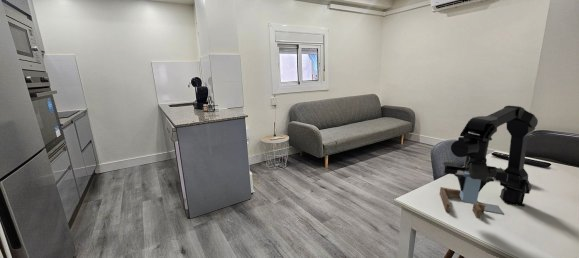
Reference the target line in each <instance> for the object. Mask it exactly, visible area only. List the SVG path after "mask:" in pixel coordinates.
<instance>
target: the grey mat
mask: <svg viewBox="0 0 579 258" xmlns="http://www.w3.org/2000/svg"><path fill="white" fill-rule="evenodd" d="M478 203H479V204H484V205H485V209H484V212H489V213H494V214H498V215H499V214H500V215H505V213H504V211H503V210H502V209H501V207H500V206H499V205H497V204H492V203H485V202H478Z"/></svg>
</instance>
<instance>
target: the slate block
mask: <svg viewBox="0 0 579 258" xmlns="http://www.w3.org/2000/svg"><path fill="white" fill-rule="evenodd" d="M463 175H464V176H465V178H464V185H463V191H461V189H459V190H460V197H461V199H460V200H461V201H462V202H466V203H471V204H472V203H478V198H479V194H480V192H479V189H480V184H481V180H479V179H472V178H471V177H470V174H469V173H467V172H464V173H463Z"/></svg>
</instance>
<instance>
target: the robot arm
mask: <svg viewBox="0 0 579 258" xmlns="http://www.w3.org/2000/svg"><path fill="white" fill-rule="evenodd" d="M538 123H539V120H538V118H537V116H535V114H533V113H532V112H530V111H527V110H526V108H524V107H522V106H519V105H517V106H516V105H509V104H508V105H505V106H504V107H503V108H501V109H499V110H497V111H495V112H493V113H490V114H488V115H486V116H484V115H481V116H479V115H478V116H474V117H472V118H470V119H469V120H468V121H467V123H466V124H465V126H464V127H463V128H462V131H461V132H460V135H459V137H458V139H457V140H455V141H453V142H452V144H451V145H450V150H451V153H452V154H453V155H454V156H455V157H458V158H463V157H465V159H464V163H463V166H460V165H457V164H456V163H455V162H450V161H443V162H442V165H441V169H442V171H443V173H444V174H449V175H454V176H455V177H456V178H457V181H458V184H459V185H458V186H459V188H460V189H459V190H461V191H463V185H464V178H465V176H464V175H463V173H464V172H467V173H469V174H470V177H471V178H472V179H479V180H481V184H480V189H479V193H480V191H481V190H482V189H483V188H484V186H486V184H488V183H490V182H493V183H494V181H495V180H496V181H499V186H501V187H503V188H502V189H501V191H500V195H499V197H500V199H501V200H502V201H503V203H504V204H508V205H513V206H519V207H520V206H521V207H525V204H524V203H523V202H524V200H525V197H526V196H525V195H526V194H527V195H529V194H530V193H531V191H532V187H533V186H532V184H531V183H530V181H529V174H528V172H527V171H526V169H525V167H524V166H525V160H526V151H527V145H528V138H529V136H530V135H531V134H532V132H534V131H535V130H536V127H537V125H538ZM504 124H506V130H507V131H508V133H509V134H510V142H509V143H510V145H509V150H508V151H509V152H508V162H507V167H506V168H502V167H501V168H500V167H496V166H490V165H488V162H487V153H488V148H489V143H490V141H492V140H493V138H492V136H494V134H495V133H497V132H498V128H499V127H500V126H503V125H504ZM503 169H505V170H503Z"/></svg>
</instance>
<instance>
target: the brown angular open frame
mask: <svg viewBox="0 0 579 258" xmlns="http://www.w3.org/2000/svg"><path fill="white" fill-rule="evenodd" d="M460 190H461V189H456V188H449V187H448V188H447V187H440V189H439V196H440V199H441V202H442V205H443V207H444V211H445V213H450V209H451V203H450V200H449V197H450V198H455V199H460V200H462V199H461V197H460ZM484 209H485V205H484V204H479V202H477V203H473V204H472V209H471V210H472V213H473V214H474V217H475V218H476V219H481V216H482V215H481V214H485V211H484Z"/></svg>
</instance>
